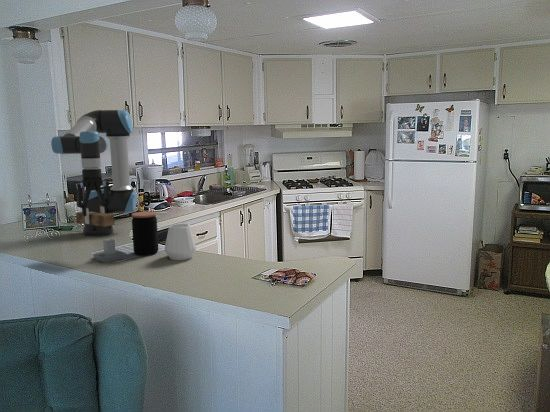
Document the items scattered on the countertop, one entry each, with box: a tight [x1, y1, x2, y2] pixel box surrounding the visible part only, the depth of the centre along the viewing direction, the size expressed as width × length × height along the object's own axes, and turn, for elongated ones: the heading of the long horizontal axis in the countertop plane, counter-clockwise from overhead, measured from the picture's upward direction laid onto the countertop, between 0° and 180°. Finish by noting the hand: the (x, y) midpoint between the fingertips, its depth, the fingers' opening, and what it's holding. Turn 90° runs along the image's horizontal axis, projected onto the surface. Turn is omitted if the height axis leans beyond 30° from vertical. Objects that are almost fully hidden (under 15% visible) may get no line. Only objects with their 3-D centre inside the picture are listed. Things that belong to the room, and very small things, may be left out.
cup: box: [164, 223, 197, 261], centre depth 196 cm, size 13×13×14 cm
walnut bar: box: [75, 211, 116, 227], centre depth 196 cm, size 18×5×4 cm, turn 60°
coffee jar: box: [131, 211, 159, 257], centre depth 203 cm, size 11×11×18 cm
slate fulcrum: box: [93, 238, 127, 264], centre depth 196 cm, size 10×10×8 cm
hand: (95, 222), depth 196 cm, fingers closed on walnut bar, 6 cm apart
